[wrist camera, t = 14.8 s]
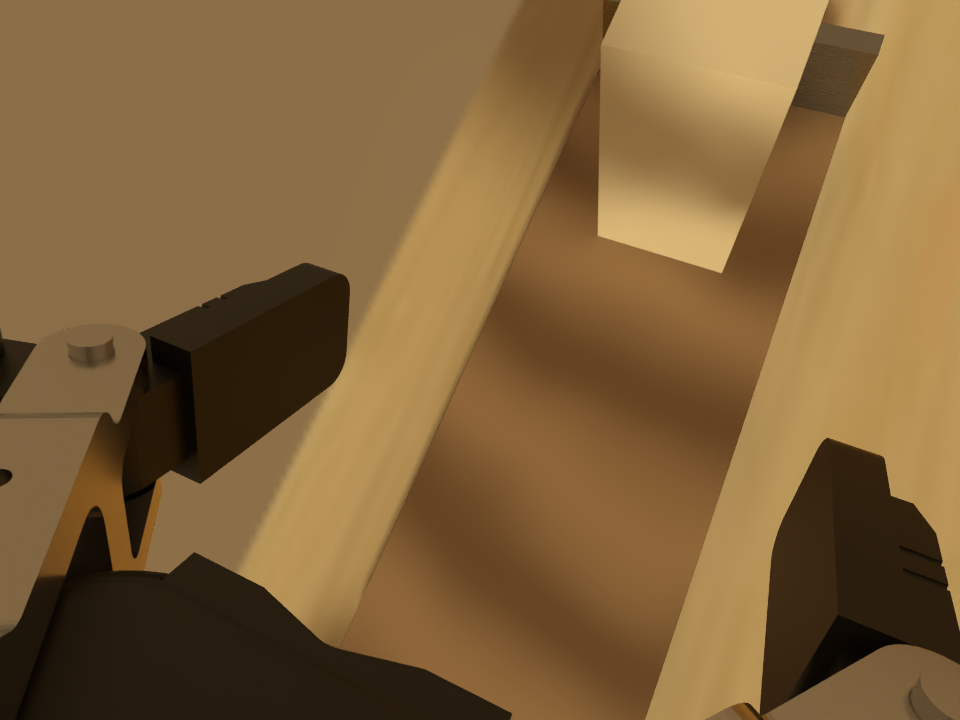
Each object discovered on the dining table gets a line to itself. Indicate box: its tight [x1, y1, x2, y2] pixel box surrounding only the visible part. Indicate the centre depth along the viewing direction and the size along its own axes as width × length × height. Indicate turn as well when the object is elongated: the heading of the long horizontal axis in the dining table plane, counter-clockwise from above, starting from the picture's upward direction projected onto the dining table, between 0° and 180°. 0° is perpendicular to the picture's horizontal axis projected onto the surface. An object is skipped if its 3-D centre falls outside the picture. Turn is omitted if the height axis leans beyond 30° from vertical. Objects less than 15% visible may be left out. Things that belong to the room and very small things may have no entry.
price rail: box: [603, 0, 885, 117], centre depth 24 cm, size 1×9×3 cm, turn 68°
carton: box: [598, 0, 829, 273], centre depth 20 cm, size 6×4×9 cm
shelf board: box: [340, 69, 845, 720], centre depth 23 cm, size 24×9×2 cm, turn 157°
